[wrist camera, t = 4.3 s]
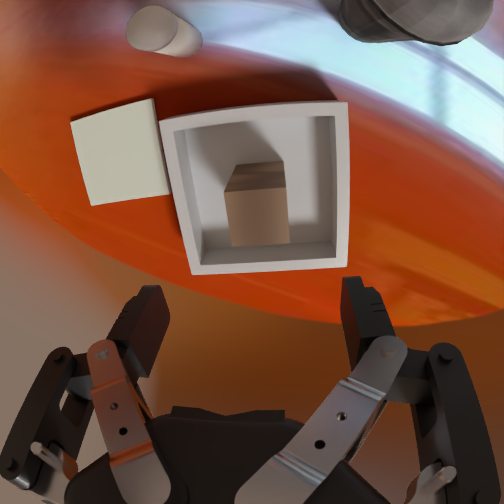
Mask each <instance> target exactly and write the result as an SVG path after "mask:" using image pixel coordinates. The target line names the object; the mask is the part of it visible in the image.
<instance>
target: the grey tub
mask: <svg viewBox="0 0 504 504" xmlns="http://www.w3.org/2000/svg"><path fill="white" fill-rule="evenodd" d="M159 125H160V131H161V136H162V142H163V147H164V152H165V157H166V163H167V168H168V173H169V178H170V182H171V187H172V192H173V197H174V201H175V206H176V210H177V215H178V219H179V223H180V228H181V232H182V236H183V240H184V245H185V249H186V253H187V257H188V261H189V265H190V269H191V273H192V275H204V274H226V273H247V272H266V271H284V270H301V269H318V268H333V267H347V254H348V233H349V197H350V158H349V123H348V104H347V102H344V101H339V100H316V101H292V102H277V103H264V104H254V105H244V106H235V107H227V108H220V109H213V110H206V111H199V112H193V113H187V114H182V115H176V116H172V117H169V118H166V119H164V120H161V121H159ZM275 161H284V170H285V180H286V191H287V205H288V220H289V236H290V243H284V244H267V245H251V246H235V247H232V244H231V237H230V231H229V225H228V219H227V212H226V206H225V199H224V193H223V192H224V190H225V188H226V186H227V184H228V181H229V179H230V177H231V175H232V173H233V171H234V169H235V166H236V165H240V164H250V163H262V162H275Z"/></svg>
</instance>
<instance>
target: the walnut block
mask: <svg viewBox="0 0 504 504" xmlns="http://www.w3.org/2000/svg"><path fill="white" fill-rule="evenodd" d="M223 193H224V199H225V206H226V212H227V219H228V225H229V231H230V237H231V244H232V247H235V246H251V245H267V244H284V243H290V236H289V220H288V205H287V191H286V180H285V170H284V161H275V162H262V163H250V164H240V165H236V166H235V169H234V171H233V173H232V175H231V177H230V179H229V181H228V184H227V186H226V188H225V190H224V192H223Z"/></svg>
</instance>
